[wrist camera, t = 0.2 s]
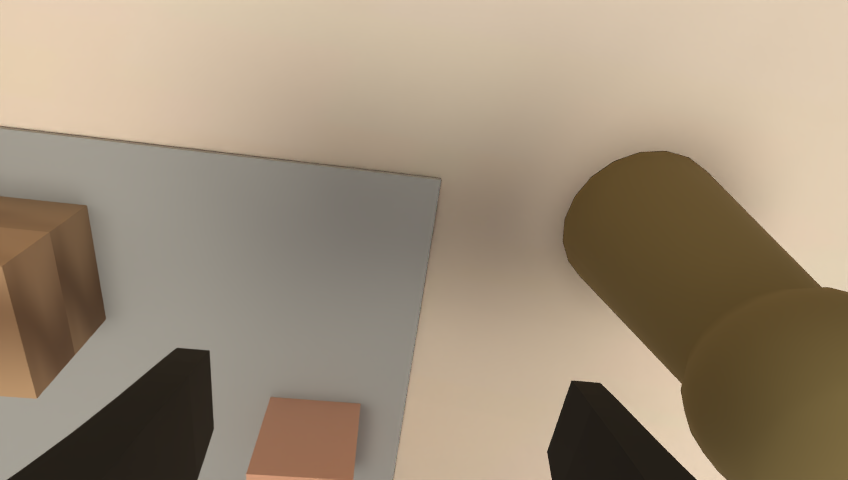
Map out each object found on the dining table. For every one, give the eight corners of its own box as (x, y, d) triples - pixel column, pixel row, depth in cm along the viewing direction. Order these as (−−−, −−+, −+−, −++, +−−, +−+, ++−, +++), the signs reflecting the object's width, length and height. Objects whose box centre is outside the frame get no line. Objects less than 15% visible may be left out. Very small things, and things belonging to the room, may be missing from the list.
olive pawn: (530, 232, 20) (656, 478, 10) (658, 116, 18) (965, 278, 8) (625, 317, 22) (807, 591, 12) (749, 220, 20) (1083, 451, 10)
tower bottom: (106, 319, 21) (75, 354, 19) (-28, 307, 20) (-74, 343, 18) (86, 205, 18) (49, 232, 16) (-64, 189, 18) (-121, 215, 16)
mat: (384, 528, 28) (384, 532, 27) (-16, 508, 26) (-18, 512, 25) (440, 178, 19) (441, 180, 19) (-164, 107, 17) (-169, 108, 17)
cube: (354, 465, 25) (345, 545, 21) (270, 459, 25) (247, 541, 21) (360, 403, 23) (353, 480, 20) (270, 396, 23) (245, 474, 19)
